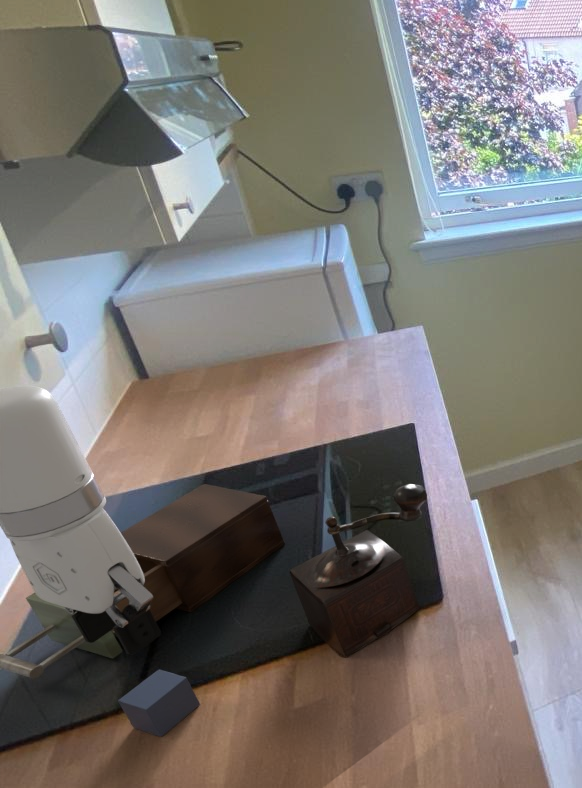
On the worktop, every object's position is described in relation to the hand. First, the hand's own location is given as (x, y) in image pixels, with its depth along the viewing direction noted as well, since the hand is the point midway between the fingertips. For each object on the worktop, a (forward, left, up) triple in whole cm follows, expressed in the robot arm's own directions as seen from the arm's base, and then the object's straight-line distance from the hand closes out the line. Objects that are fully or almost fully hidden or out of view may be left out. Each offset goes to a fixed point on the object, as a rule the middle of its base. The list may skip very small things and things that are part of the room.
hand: (124, 637), depth 81 cm
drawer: (-9, +20, -12) cm, 24 cm away
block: (0, 0, -12) cm, 12 cm away
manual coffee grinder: (+23, +7, -13) cm, 27 cm away
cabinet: (0, +29, -12) cm, 31 cm away
